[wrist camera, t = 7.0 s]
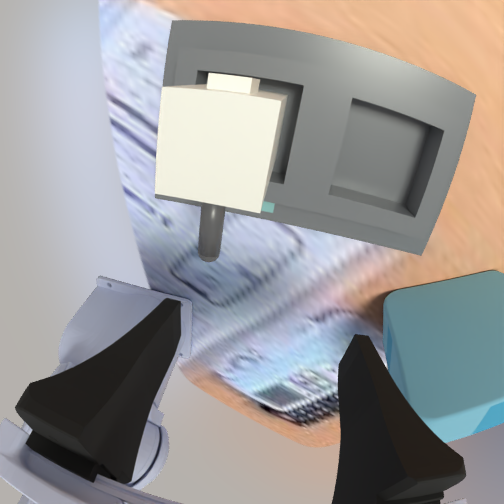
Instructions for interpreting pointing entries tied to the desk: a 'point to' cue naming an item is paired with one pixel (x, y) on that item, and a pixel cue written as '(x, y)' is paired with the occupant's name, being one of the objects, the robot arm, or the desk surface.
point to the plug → (218, 148)
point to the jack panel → (339, 129)
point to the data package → (449, 352)
